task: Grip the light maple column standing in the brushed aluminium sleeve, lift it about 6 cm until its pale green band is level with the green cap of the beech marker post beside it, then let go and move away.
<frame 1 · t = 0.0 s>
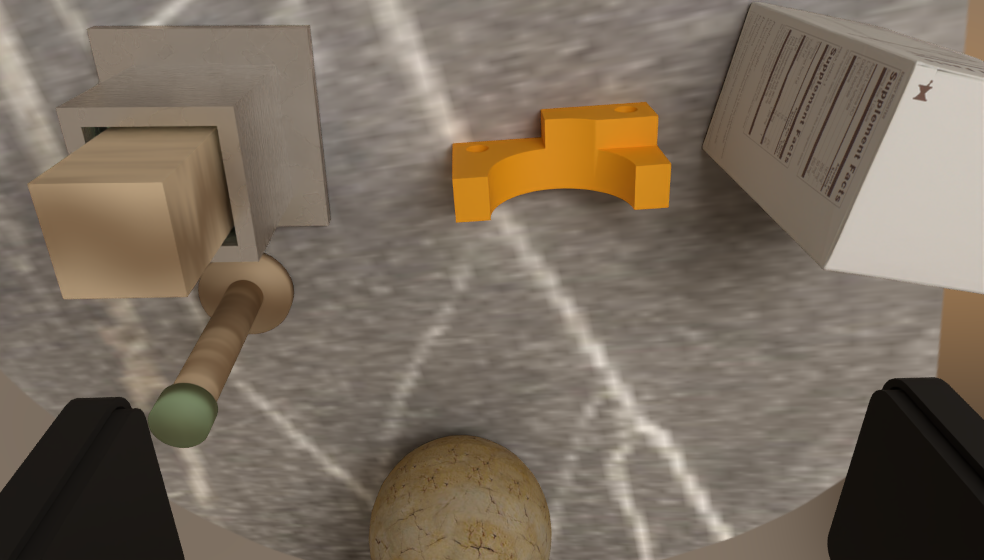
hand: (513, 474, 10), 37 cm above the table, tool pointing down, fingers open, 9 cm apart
sleeve: (220, 129, 44), on the table
column: (172, 179, 37), point 9 cm above the table, slide at 0.0 cm
fossilized egg: (459, 461, 58), on the table
supplement box: (793, 91, 45), on the table
pipe clamp: (548, 141, 46), on the table
marker post: (248, 288, 49), on the table
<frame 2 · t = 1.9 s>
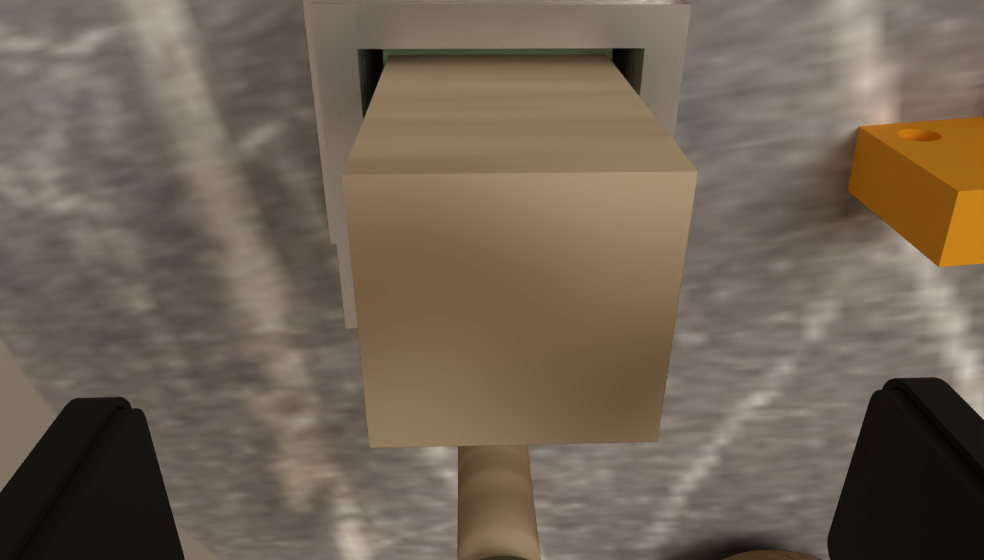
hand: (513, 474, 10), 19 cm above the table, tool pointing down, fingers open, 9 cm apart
sleeve: (487, 78, 26), on the table
column: (497, 162, 18), point 9 cm above the table, slide at 0.0 cm
marker post: (487, 336, 31), on the table
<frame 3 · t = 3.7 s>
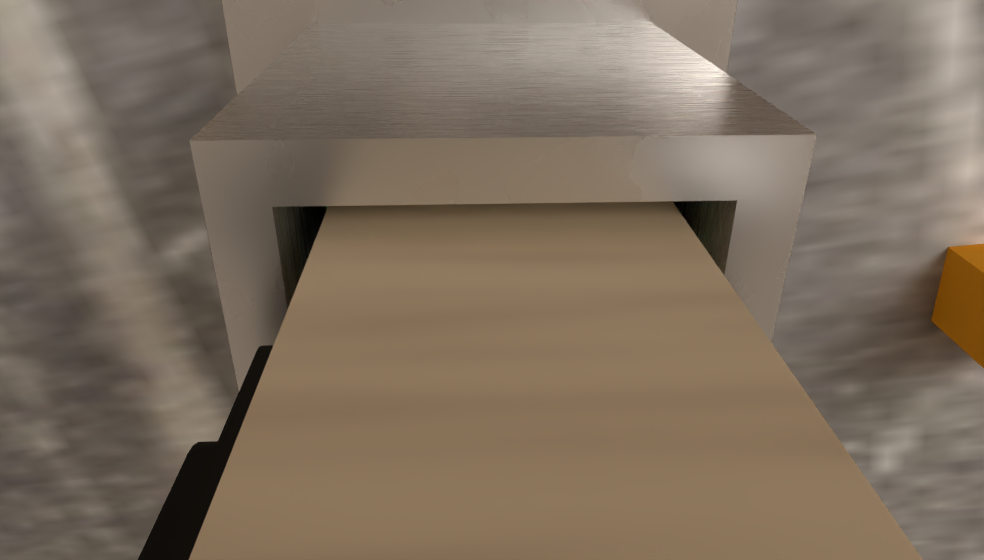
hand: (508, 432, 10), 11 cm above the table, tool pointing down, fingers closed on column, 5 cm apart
sleeve: (482, 170, 20), on the table
column: (499, 341, 12), point 9 cm above the table, slide at 0.0 cm, touching gripper
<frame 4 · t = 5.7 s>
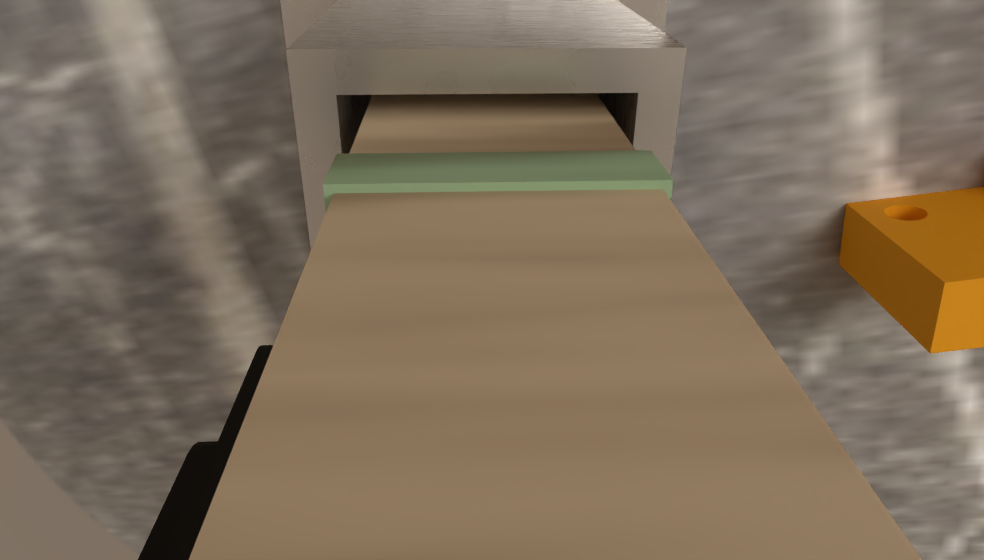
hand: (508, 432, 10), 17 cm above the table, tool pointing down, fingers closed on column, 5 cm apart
sleeve: (476, 112, 25), on the table
column: (499, 342, 12), point 15 cm above the table, slide at 5.9 cm, touching gripper
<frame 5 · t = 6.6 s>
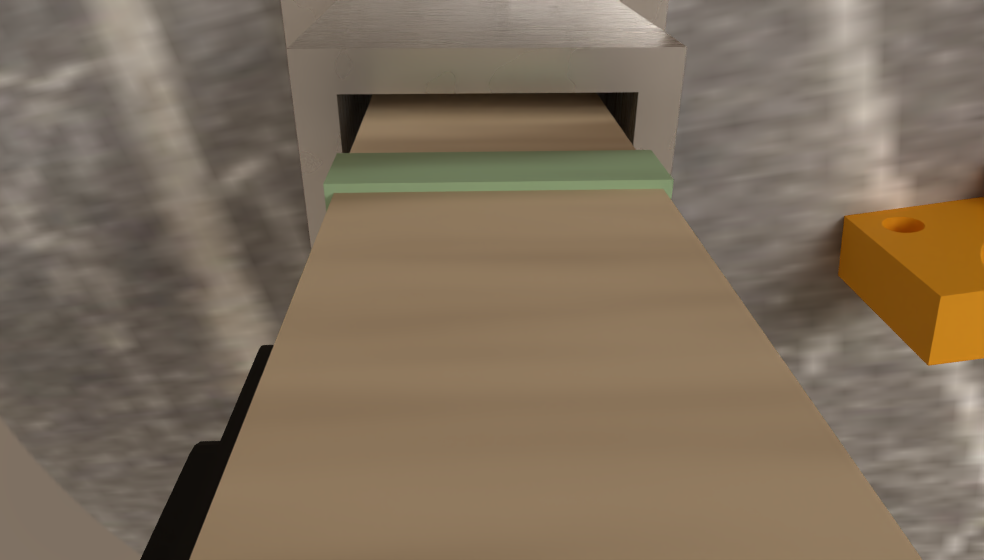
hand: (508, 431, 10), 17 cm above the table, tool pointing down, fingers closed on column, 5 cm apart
sleeve: (476, 111, 25), on the table
column: (499, 341, 12), point 15 cm above the table, slide at 6.0 cm, touching gripper
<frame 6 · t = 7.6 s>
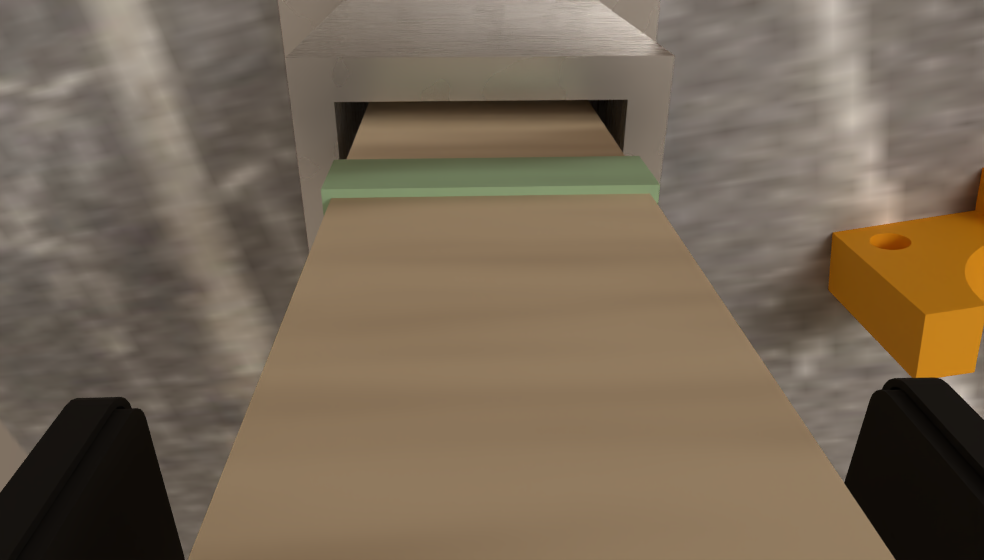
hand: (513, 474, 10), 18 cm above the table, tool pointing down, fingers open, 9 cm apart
sleeve: (471, 118, 26), on the table
column: (492, 342, 13), point 15 cm above the table, slide at 6.0 cm
pipe clamp: (979, 214, 29), on the table
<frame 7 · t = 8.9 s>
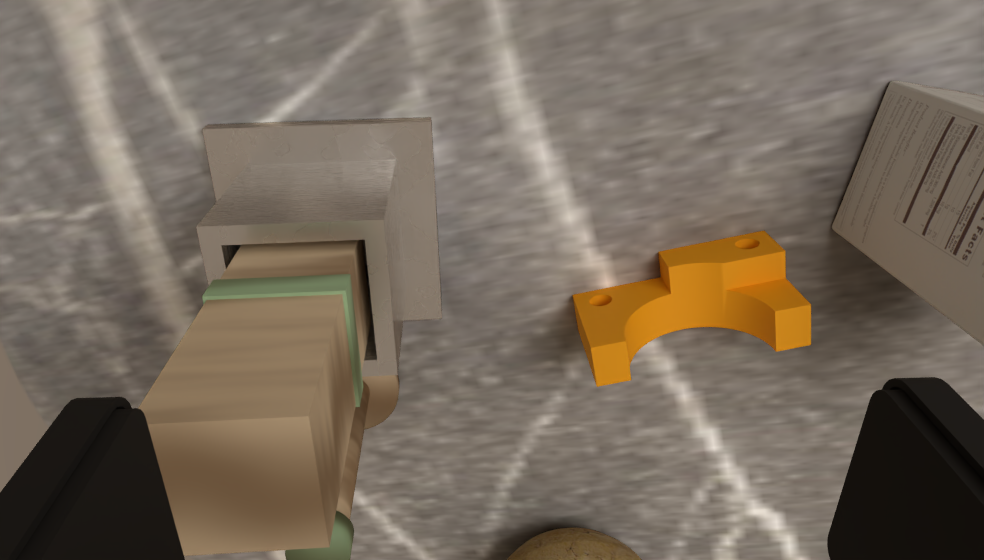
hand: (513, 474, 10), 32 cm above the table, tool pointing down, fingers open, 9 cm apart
sleeve: (332, 224, 42), on the table
column: (282, 358, 29), point 15 cm above the table, slide at 6.0 cm
fossilized egg: (562, 550, 55), on the table
supplement box: (927, 167, 43), on the table
pipe clamp: (667, 279, 46), on the table
marker post: (352, 383, 47), on the table
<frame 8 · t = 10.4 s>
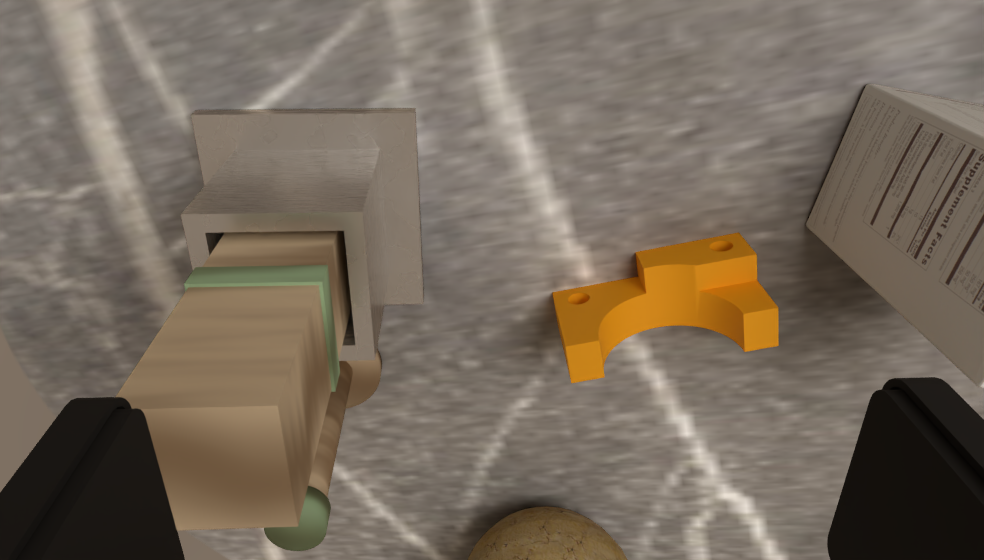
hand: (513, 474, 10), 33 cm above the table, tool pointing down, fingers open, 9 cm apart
sleeve: (318, 209, 43), on the table
column: (261, 345, 30), point 15 cm above the table, slide at 6.0 cm
fossilized egg: (538, 528, 57), on the table
supplement box: (901, 169, 44), on the table
pipe clamp: (644, 277, 47), on the table
marker post: (336, 363, 48), on the table
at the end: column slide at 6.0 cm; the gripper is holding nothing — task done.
